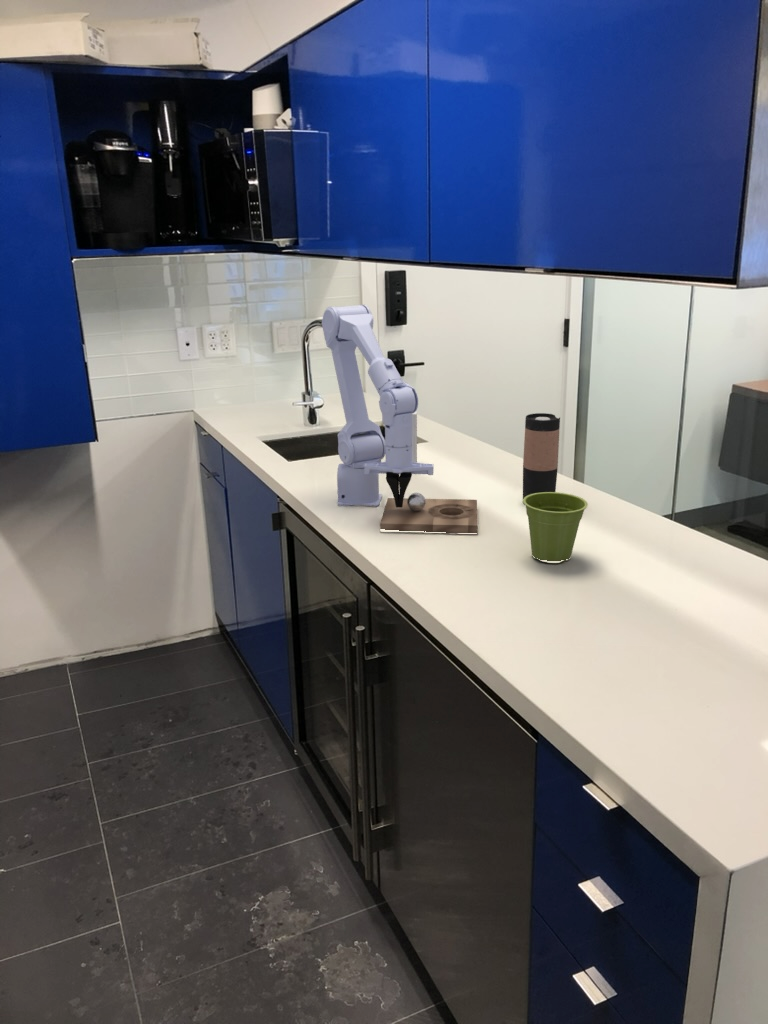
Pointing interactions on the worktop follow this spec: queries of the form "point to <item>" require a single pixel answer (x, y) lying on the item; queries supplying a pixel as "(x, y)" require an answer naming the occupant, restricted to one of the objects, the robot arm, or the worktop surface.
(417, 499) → the ball
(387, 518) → the deck
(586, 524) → the worktop surface
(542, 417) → the travel mug
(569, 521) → the plant pot
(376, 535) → the worktop surface
